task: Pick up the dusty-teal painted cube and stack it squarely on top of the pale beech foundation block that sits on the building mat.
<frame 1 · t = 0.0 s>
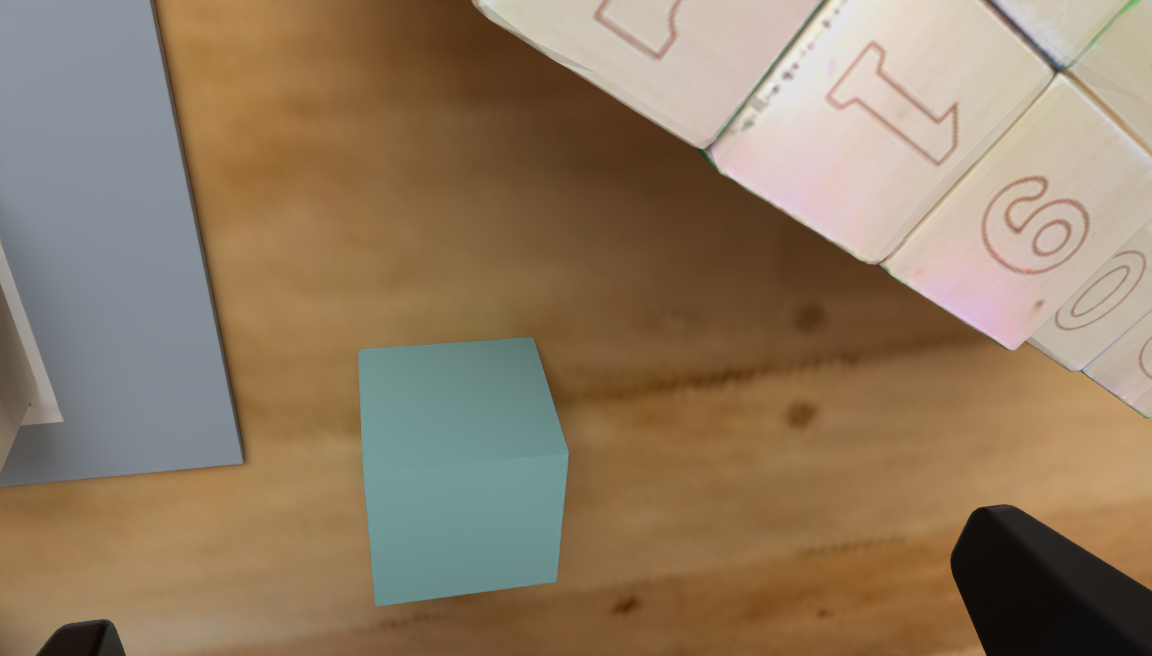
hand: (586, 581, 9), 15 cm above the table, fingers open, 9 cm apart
teal block: (448, 407, 27), on the table
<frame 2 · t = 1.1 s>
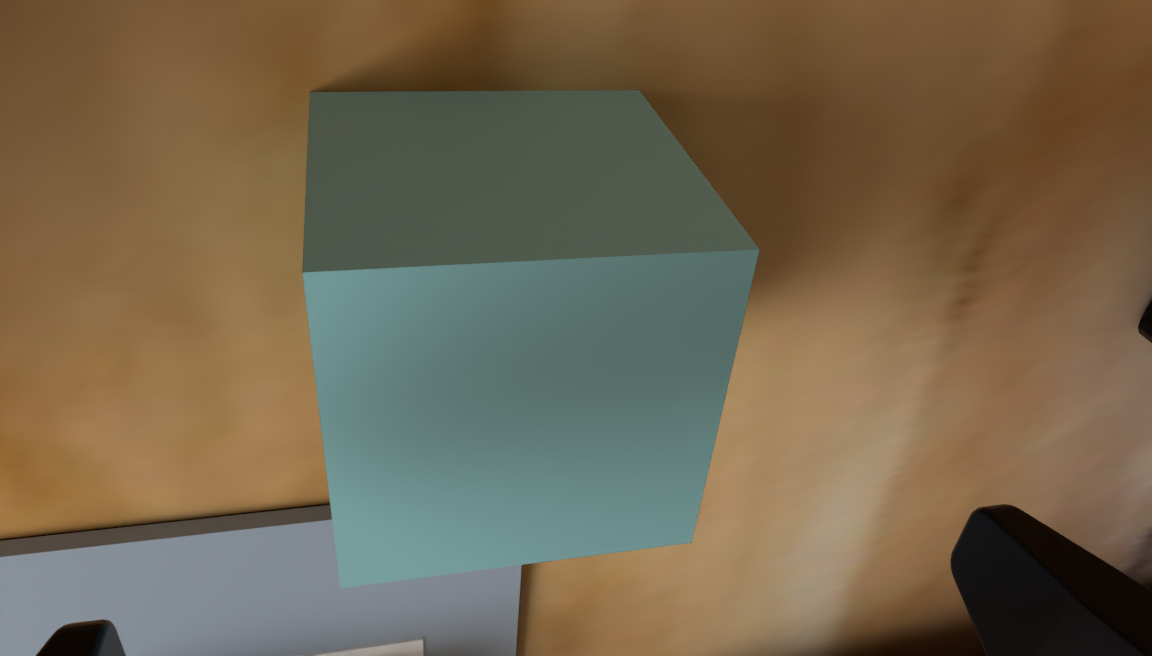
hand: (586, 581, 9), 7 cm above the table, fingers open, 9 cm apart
teal block: (478, 232, 15), on the table
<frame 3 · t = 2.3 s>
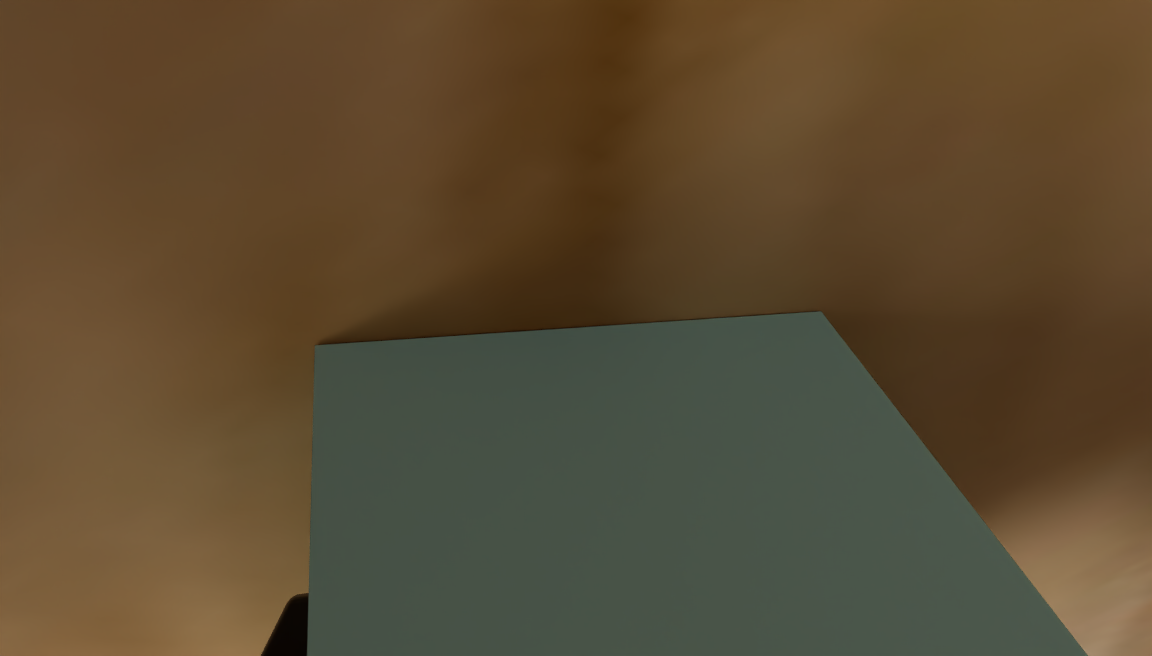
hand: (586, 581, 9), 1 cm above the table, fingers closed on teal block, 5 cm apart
teal block: (566, 507, 10), on the table, touching gripper
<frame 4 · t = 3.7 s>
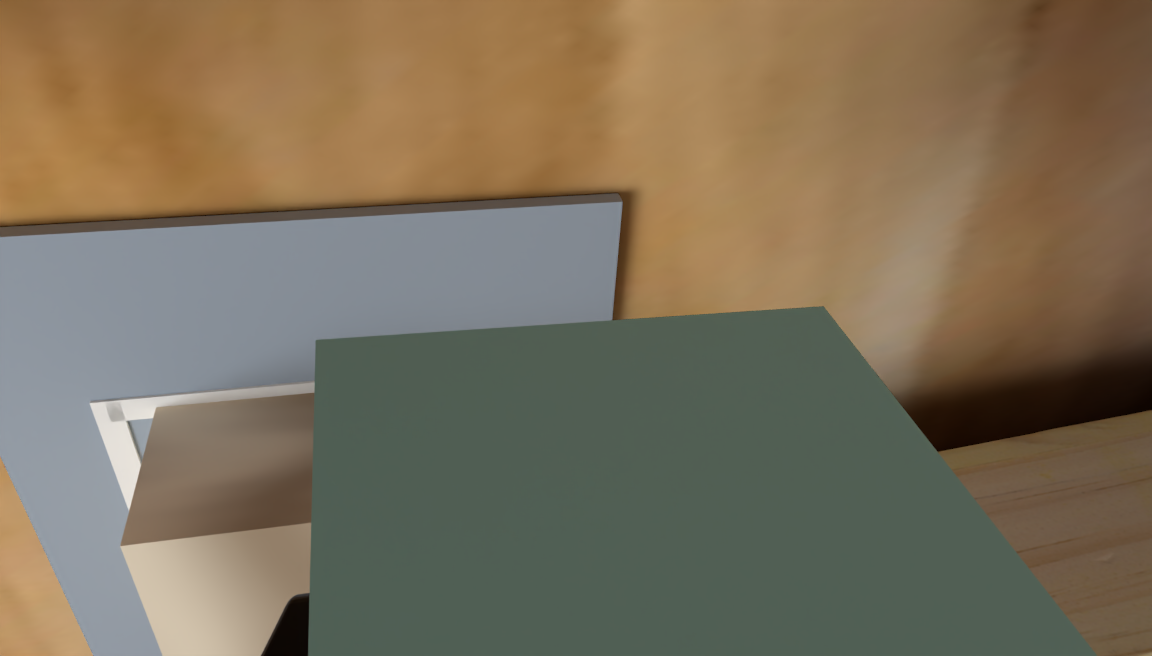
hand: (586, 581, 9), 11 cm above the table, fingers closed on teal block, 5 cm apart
foundation block: (334, 496, 22), resting on building mat
building mat: (329, 455, 22), on the table
toy sofa: (926, 463, 28), on the table
teal block: (567, 503, 10), point 10 cm above the table, touching gripper
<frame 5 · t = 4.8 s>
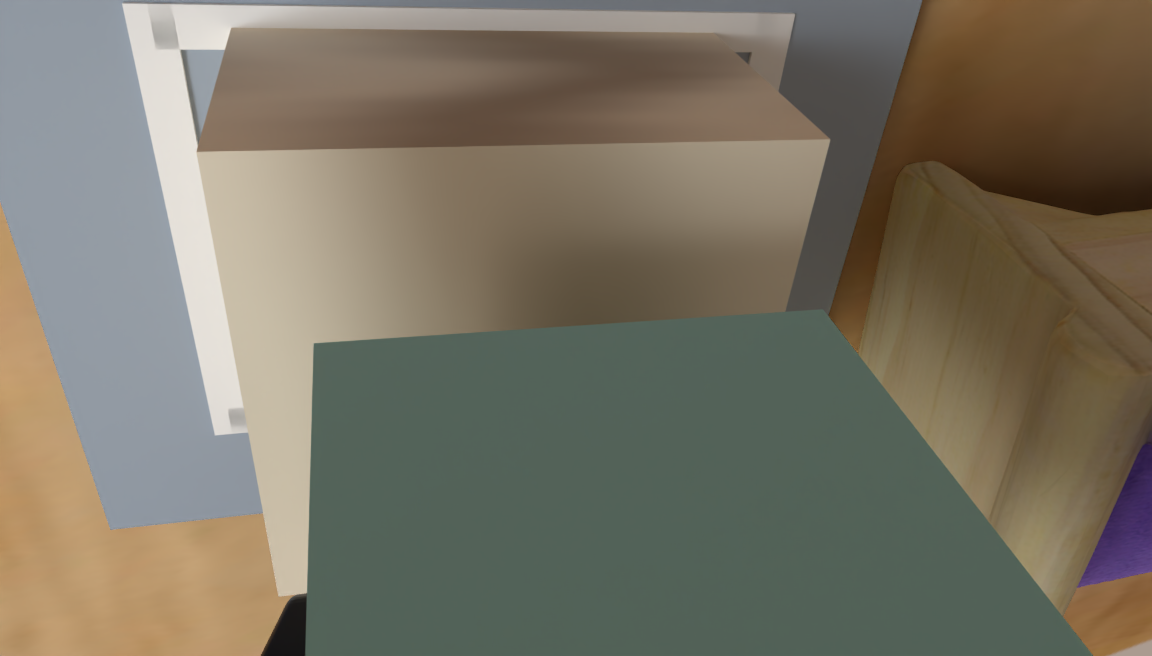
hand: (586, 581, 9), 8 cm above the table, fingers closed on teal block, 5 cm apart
foundation block: (483, 240, 15), resting on building mat
building mat: (480, 173, 15), on the table
teal block: (566, 506, 10), point 7 cm above the table, touching gripper
when the fingers open (7 cm above the table, at t = 5.4 s): teal block drops 1 cm, resting on foundation block.
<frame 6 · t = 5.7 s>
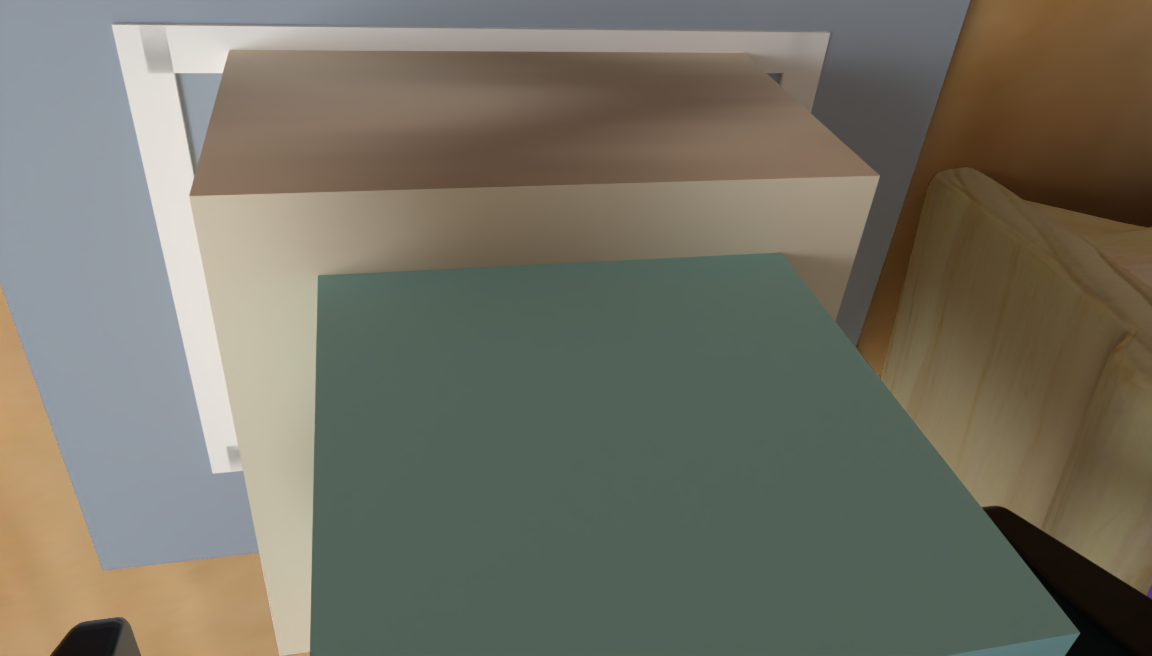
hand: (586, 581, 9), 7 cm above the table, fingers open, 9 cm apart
foundation block: (496, 271, 14), resting on building mat, touching teal block
building mat: (493, 200, 14), on the table
teal block: (548, 438, 11), point 4 cm above the table, touching foundation block
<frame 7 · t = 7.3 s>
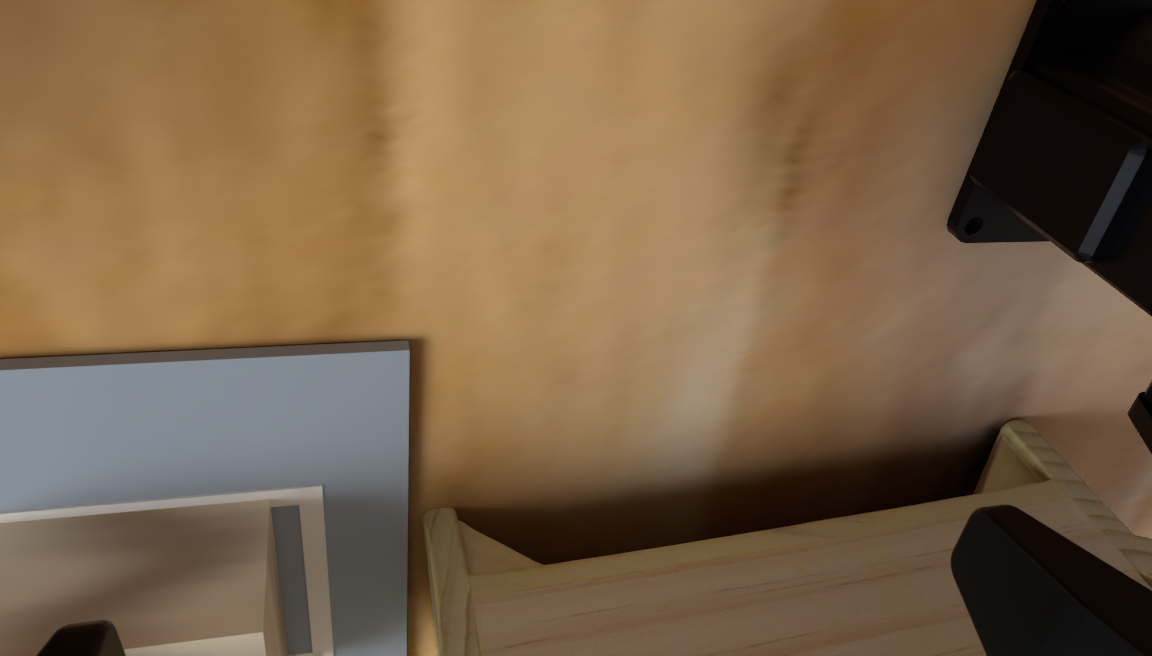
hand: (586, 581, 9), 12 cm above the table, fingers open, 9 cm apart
foundation block: (142, 603, 24), resting on building mat, touching teal block
building mat: (139, 564, 23), on the table
toy sofa: (722, 540, 30), on the table
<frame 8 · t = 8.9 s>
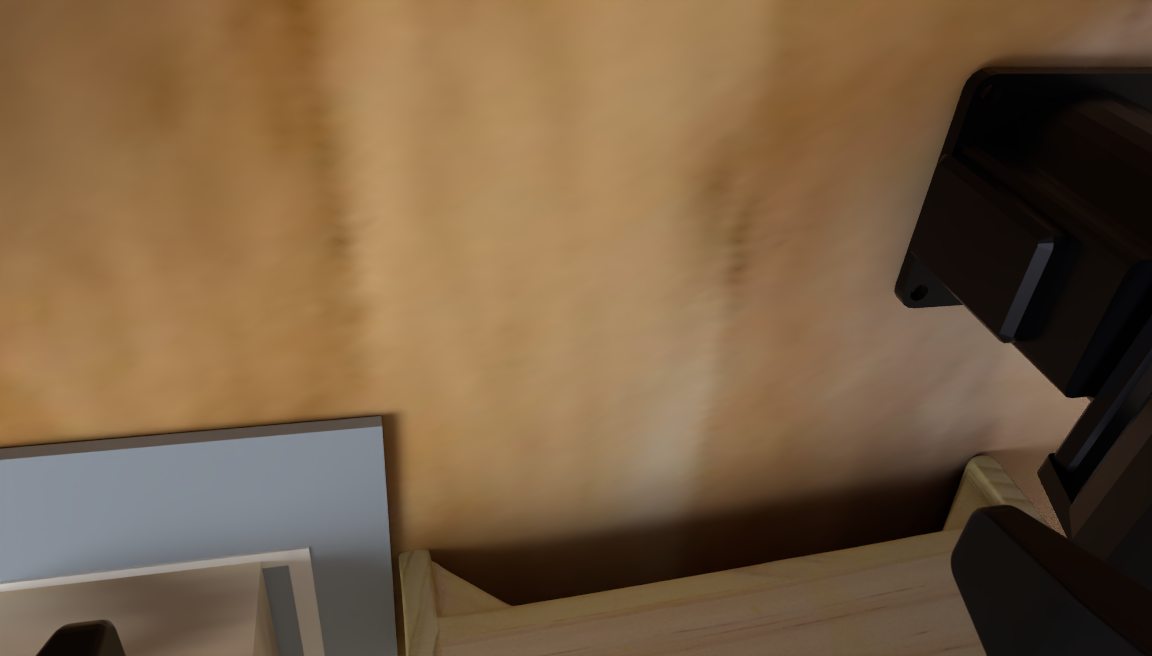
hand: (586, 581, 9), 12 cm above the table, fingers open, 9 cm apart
foundation block: (149, 655, 25), resting on building mat, touching teal block
building mat: (145, 620, 25), on the table
toy sofa: (695, 572, 30), on the table
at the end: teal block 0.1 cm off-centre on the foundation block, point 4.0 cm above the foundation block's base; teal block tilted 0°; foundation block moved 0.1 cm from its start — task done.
